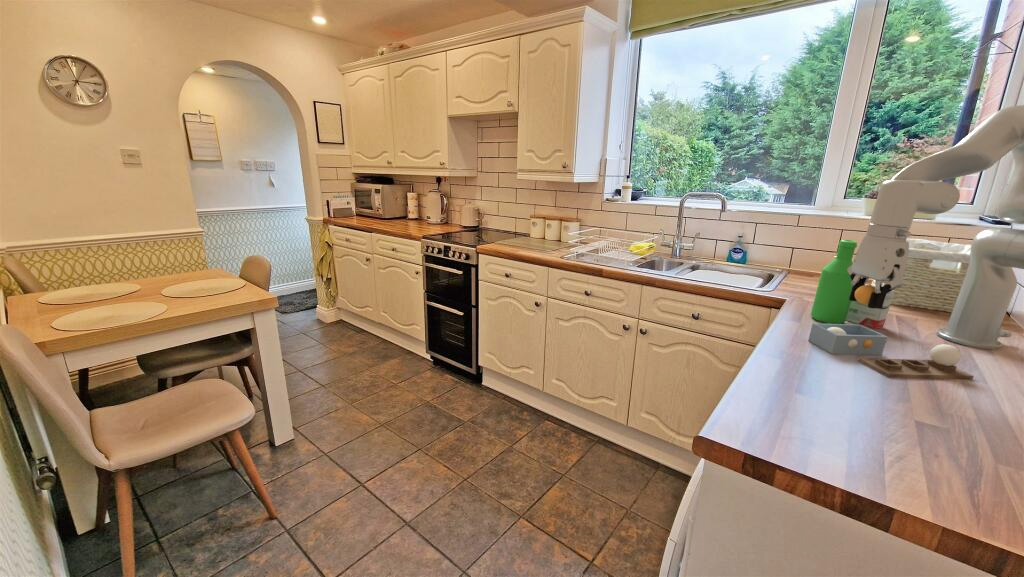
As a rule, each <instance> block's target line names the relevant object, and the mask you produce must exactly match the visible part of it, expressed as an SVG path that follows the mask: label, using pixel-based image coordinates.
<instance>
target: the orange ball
mask: <svg viewBox="0 0 1024 577" xmlns="http://www.w3.org/2000/svg"><path fill="white" fill-rule="evenodd" d="M872 292H875V287H874V286H872V285H871V284H867V285H863V286H861V287H859V288H858V289H857V290H856V291H855V299H856V300H857V301H858V302H859V303H861V304H865V305H868V303H869V300H870V297H871V294H872Z"/></svg>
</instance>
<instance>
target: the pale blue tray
mask: <svg viewBox="0 0 1024 577" xmlns="http://www.w3.org/2000/svg"><path fill="white" fill-rule="evenodd" d="M830 327H838V328H841V329H843V330H844V331H845V332H846V334H847V335H837V334H835V333H833V332H831V331H829V330H827V329H828V328H830ZM888 338H889V337H888V336H887V335H884V334H883V333H880V332H878V331H875V330H873V329H872V328H870V327H867V326H864V325H860V324H856V323H854V324H848V323H841V324H829V323H814V322H812V324H811V328H810V332H809V336H808V338H807V339H808V340H807V341H808V342H810V343H811V344H813V345H815V346H817V347H819V348H820V349H823V350H824V351H826V352H828V353H829V354H832V355H862V356H863V355H865V356H866V355H870V356H871V355H873V356H882V355H883V353H884V349H885V347H886V345H887V344H886V343H887V340H888Z"/></svg>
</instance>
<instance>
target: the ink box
mask: <svg viewBox="0 0 1024 577" xmlns="http://www.w3.org/2000/svg"><path fill="white" fill-rule="evenodd" d="M865 285H868V284H867V283H866V284H865ZM874 287H875V286H874ZM894 292H895V291H894V290H892V291H890V293H889V294H886V297H885V300H884V303H883V306H882V308H881V309H876V308H869V307H868V305H865V304H861V303H859V302H858V301H851V304H850V307H849V311H848V314H847V317H846V321H847V322H851V323H854V324H856V325H862V326H864V327H867V328H869V329H875V330H876V329H880V328H883V327H884V325H885V322H886V318H887V317H888V313H889V310H890V308H891V305H892V304H891V301H892V298H893V295H894Z"/></svg>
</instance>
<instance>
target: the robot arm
mask: <svg viewBox="0 0 1024 577" xmlns="http://www.w3.org/2000/svg"><path fill="white" fill-rule="evenodd" d="M1009 152H1012V155H1013V158H1014V168H1013V170H1012V173H1011V176H1010V178H1009V180H1008V182H1007V185H1006V187H1005V189H1004V191H1003V194H1002V195H1001V198H1000V199H999V202H998V204H997V207H996V211H995V215H996V217H997V219H999V220H1000V221H1001V222H1005V223H1009V224H1017V225H1024V104H1021V105H1020V104H1019V105H1014V106H1008V107H1004V108H1002V109H999V110H997V111H995V113H993V114H992V115H990V116H988V118H987V119H985V120H984V121H983V122H982V123H980V124H979V125H978V126H977V127H976V128H975V129H973V130H972V131H971V132H969V134H968V135H966V136H965V137H964V138H962V139H961V140H960V141H959V142H957V144H956V145H954V146H952V147H949V148H946V149H944V150H941V151H938V152H936V153H934V154H932V155H929V156H926V157H924V158H922V159H919V160H918V161H915V162H913V163H911V164H909V165H908V166H906V167H904V168H903V169H902V170H900V171H899V172H898V173H897V174H896V175H894V176H893V177H892V178H891V179H889V180H884V181H883V182H882V183H881V184H880V187H879V190H878V193H877V196H876V200H875V203H874V206H873V210H872V212H871V213H872V214H871V217H870V220H869V222H868V223H869V224H868V227H867V229H866V233H865V235H864V236H863V238H862V239H861V241H860V243H859V246H858V248H857V250H856V253H855V255H854V257H853V260H852V262H853V264H852V265H851V266H850V267H849V268H848V269H847V271H848V272H849V274H850V277H851V279H852V282H851V284H852V285H854V286H853V287H852V291H851V294H850V297H849V300H850V301H857V300H856V299H855V291H856V290H857V289H858V288H859V287H861V286H863V285H865V284H867V282H868V281H869V279H870V280H873V279H874V280H875V292H872V294H871V297H870V300H869V303H868V307H869V308H876V309H881V308H882V306H883V303H884V300H885V297H886V294H889V293H890V291H892V290H894V289H895V288H898V287H900V286H902V285H903V281H902V278H903V275H904V271H905V267H906V263H907V258H908V252H909V242H907V241H906V239H908V238H909V237H910V236H911V234H912V232H911V227H912V224H913V221H914V218H915V215H916V214H926V215H940V214H944V213H947V212H949V211H951V210H952V209H954V208H955V206H956V205H957V204H959V203H958V202H959V201H960V198H961V193H960V190H959V189H958V187H957V186H956V185H955V184H953V183H950V182H946V181H944V180H948V179H954V178H961V177H965V176H969V175H970V176H971V175H973V174H978V173H981V172H984V171H987V170H989V169H990V168H992V167H993V166H995V164H996V163H998V162H999V161H1000V160H1001V159H1003V157H1004V156H1006V155H1008V153H1009ZM970 245H971V249H970V260H969V266H968V269H967V273H966V276H965V279H964V281H963V284H962V287H961V289H960V292H959V295H958V298H957V300H956V303H955V306H954V309H953V311H952V313H951V315H950V317H949V320H948V323H947V325H946V328H944V327H943V328H939V329H937V331H936V335H937V336H938V337H941V338H942V339H944V340H947V341H950V342H953V343H956V344H960V345H963V346H968V347H972V348H978V349H984V350H1000V349H1002V346H1003V343H1002V342H1000V341H999V340H998V339H999V338H1010V337H1012V331H1011V330H1005V329H1001V327H1002V324H1003V321H1004V318H1005V316H1006V313H1007V311H1008V308H1009V307H1010V303H1011V301H1012V298H1013V296H1014V293H1015V292H1016V289H1017V286H1018V279H1017V275H1016V274H1015V271H1014V269H1013V268H1015V269H1019V270H1020V269H1021V270H1024V229H1018V228H1008V227H993V228H987V229H983V230H982V231H980V232H978V233H977V234H976V235H975V236H974V238H973V239H972V241H971V244H970ZM891 281H892V282H891ZM882 283H884V286H882Z"/></svg>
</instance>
